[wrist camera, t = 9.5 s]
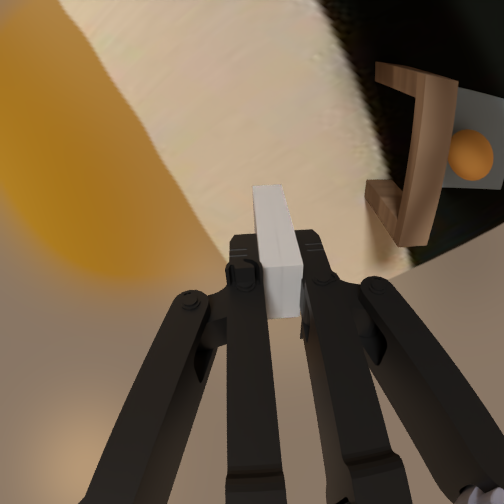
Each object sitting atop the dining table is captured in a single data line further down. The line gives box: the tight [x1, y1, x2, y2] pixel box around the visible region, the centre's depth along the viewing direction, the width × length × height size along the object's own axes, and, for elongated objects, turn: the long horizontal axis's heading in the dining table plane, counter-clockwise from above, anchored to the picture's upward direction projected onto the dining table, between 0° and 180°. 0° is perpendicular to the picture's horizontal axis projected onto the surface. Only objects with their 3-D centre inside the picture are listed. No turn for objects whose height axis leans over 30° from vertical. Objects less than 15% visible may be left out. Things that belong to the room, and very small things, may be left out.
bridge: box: [365, 62, 459, 247], centre depth 25 cm, size 3×14×9 cm, turn 3°
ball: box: [448, 129, 494, 181], centre depth 27 cm, size 6×6×6 cm
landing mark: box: [442, 87, 504, 190], centre depth 29 cm, size 12×12×1 cm
